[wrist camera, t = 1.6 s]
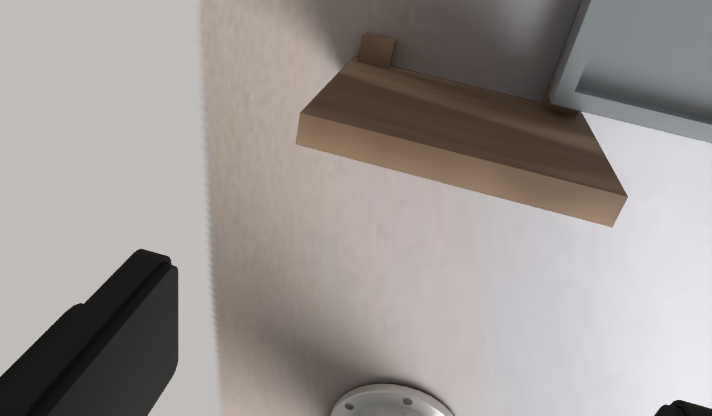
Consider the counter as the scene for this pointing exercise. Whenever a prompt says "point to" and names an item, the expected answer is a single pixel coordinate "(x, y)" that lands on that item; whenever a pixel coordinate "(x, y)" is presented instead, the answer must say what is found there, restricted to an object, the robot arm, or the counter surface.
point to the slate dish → (640, 64)
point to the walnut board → (462, 136)
